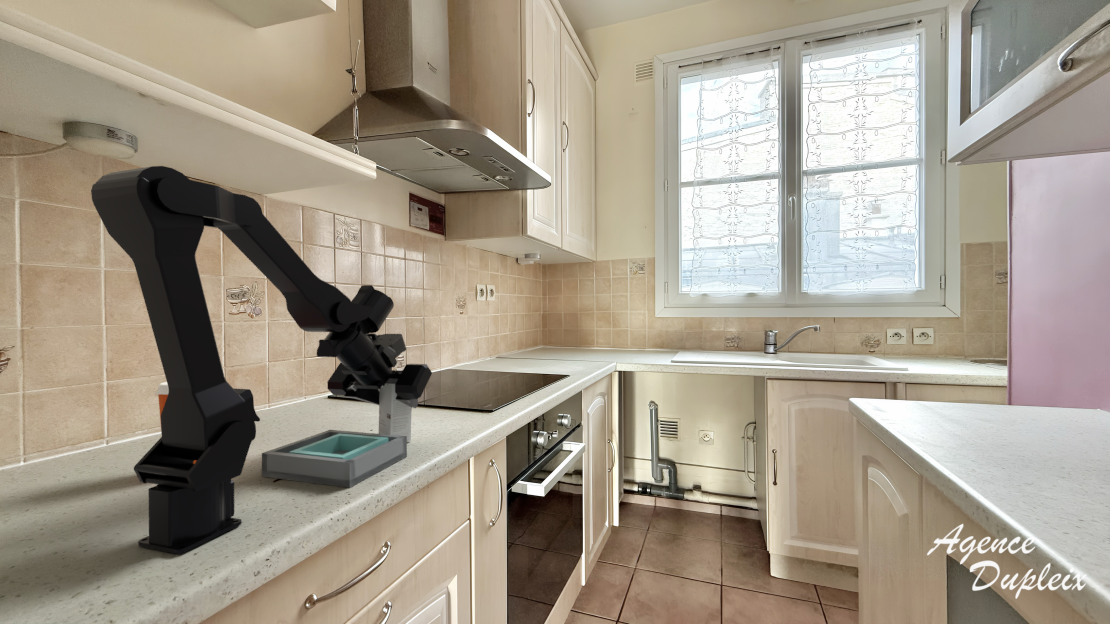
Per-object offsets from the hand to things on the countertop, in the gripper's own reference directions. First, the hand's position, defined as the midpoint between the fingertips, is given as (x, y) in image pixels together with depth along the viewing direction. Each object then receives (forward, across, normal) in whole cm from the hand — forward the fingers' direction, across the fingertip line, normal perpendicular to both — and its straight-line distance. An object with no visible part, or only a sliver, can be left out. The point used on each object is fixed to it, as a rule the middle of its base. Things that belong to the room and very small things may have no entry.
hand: (399, 404), depth 81 cm
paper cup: (-11, +22, +21) cm, 32 cm away
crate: (-6, 0, +15) cm, 16 cm away
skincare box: (+4, 0, +6) cm, 7 cm away
